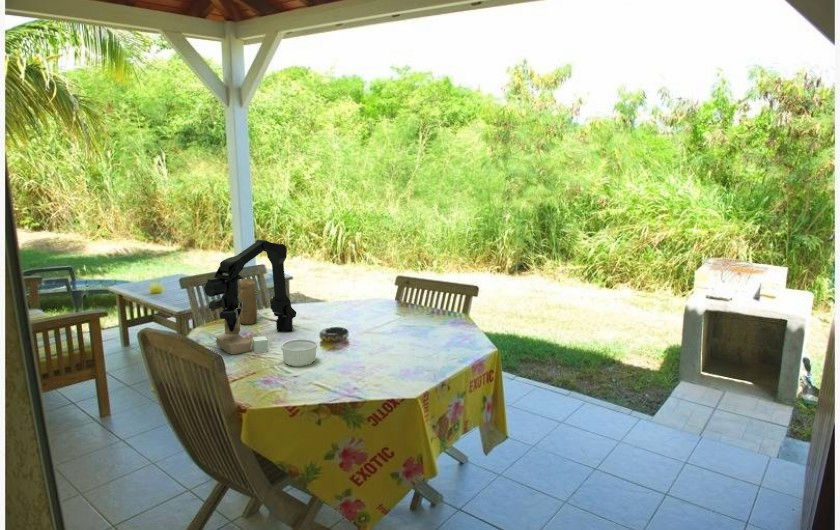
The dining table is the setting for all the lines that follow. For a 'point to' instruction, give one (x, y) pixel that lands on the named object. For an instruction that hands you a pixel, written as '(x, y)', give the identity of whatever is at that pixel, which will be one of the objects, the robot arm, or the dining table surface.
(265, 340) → the grey block
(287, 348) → the ramekin
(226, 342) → the brick
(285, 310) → the robot arm
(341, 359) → the dining table surface
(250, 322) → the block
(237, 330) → the walnut block
